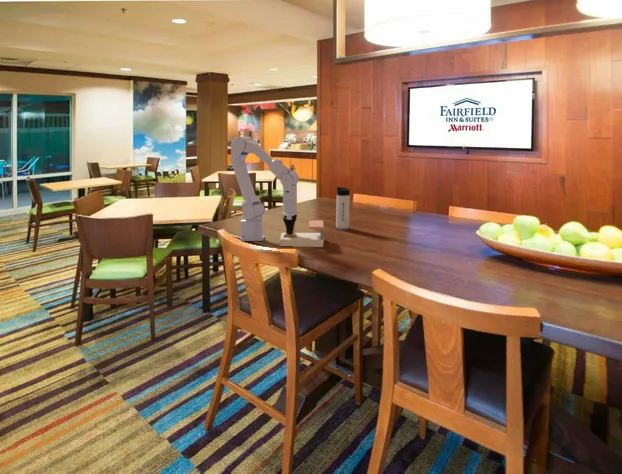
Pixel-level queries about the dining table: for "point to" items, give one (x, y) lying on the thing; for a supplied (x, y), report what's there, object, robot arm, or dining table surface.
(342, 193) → the travel mug
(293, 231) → the peg
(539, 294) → the dining table surface
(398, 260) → the dining table surface
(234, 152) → the robot arm
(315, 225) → the socket block
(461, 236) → the dining table surface
